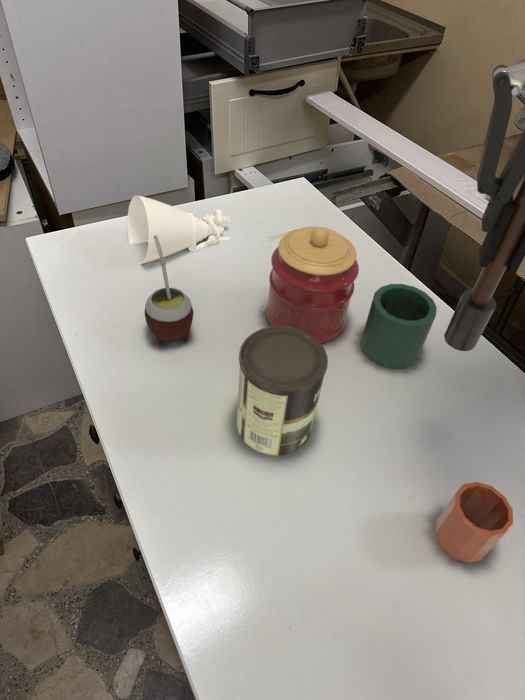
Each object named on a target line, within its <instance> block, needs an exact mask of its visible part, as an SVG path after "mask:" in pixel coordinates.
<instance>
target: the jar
mask: <svg viewBox="0 0 525 700" xmlns="http://www.w3.org/2000/svg"><path fill="white" fill-rule="evenodd" d="M369 307H370V308H369V311H368V315H367V318H366V321H365V324H364V328H363V332H362V336H361V338H360V343H359V344H360V347H361V351H362V353H363V354H364V355H365V356H366V358H367V359H368V360H369V361H370V362H373V363H374V364H376V365H378V366H380V367H383V368H387V369H391V370H397V369H398V370H402V369H406V368H409V367H411V366H413V365H414V364H415V363H416V362H417V361H418V360H419V357H420V355H421V353H422V350H423V348H424V345H425V343H426V340H427V339H428V335H429V334H430V332H431V328H432V326H433V324H434V321H435V319H436V316H437V309H438V308H437V307H438V306H437V305H436V302H435V301H434V299H433V298H432V297H431V296H430V295H428V293H426V292H425V291H424V290H422V289H420V288H418V287H416V286H413V285H408V284H404V283H389V284H386V285H383V286H381V287H379V288H378V289H377V290H376V291H374V294H373V297H372V301H371V303H370V306H369Z"/></svg>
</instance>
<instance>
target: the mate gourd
mask: <svg viewBox="0 0 525 700" xmlns="http://www.w3.org/2000/svg"><path fill="white" fill-rule="evenodd" d="M154 240H155V243H156V246H157V249H158V253H159V257H160V258H159V259H158V260H159V264H160V266H161V271H162V276H163V282H164V286H165V287H161V288H159V289H157V290H155V291H153V293H151V294H150V295H149V296H148V298H147V300H146V303H145V305H144V318H145V322H146V326H147V327H148V329H149V330H150V332H151V334H153V335H154V337H155V339H156V341H157V344H158V346H162V345H163V344H164V343H165V342H174V341H177V340H181V341H185V342H186V341H188V339H189V337H190V334H191V333H190V331H191V328H192V324H193V320H194V308H193V304H192V301H191V299H190V297H189V296H188V295H187V294H185V293H184V292H183V290H181V289H179V288H176V287H170V284H169V279H168V272H167V266H166V264H167V262H166V257H163V253H162V249H161V246H160V243H159V240H158V237H157V236H154Z"/></svg>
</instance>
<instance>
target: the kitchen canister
mask: <svg viewBox="0 0 525 700" xmlns="http://www.w3.org/2000/svg"><path fill="white" fill-rule="evenodd" d="M270 261H271V262H270V263H271V270H270V272H269V277H268V278H269V279H268V280H269V290H268V300H267V302H266V310H265V315H266V316H265V317H266V320H267V322H268V325H269V327H272V326H287V327H293V328H297V329H300V330H302V331H305V332H307V333H308V334H310V335H312V336H313V337H314V338H316V339H317V340H318V341H319V342H320V343H321V344H324V343H328V342H330V341H332V340H334V339H336V338H337V337H338V336H339V335H340V334H341V333H342V332H343V331H344V328H345V326H346V323H347V319H348V310H349V306H350V303H351V299H352V296H353V295H354V292H355V281H356V279H357V278H358V275H359V273H360V268H359V267H360V266H359V263H358V260H357V251H356V248H355V246H354V244H353V243H352V242H351V240H349V239H348V238H346V237H345V236H344V235H342V234H340V233H339V232H337V231H335V230H333V229H330V228H327V227H323V226H314V225H313V226H312V225H311V226H304V227H300V228H296V229H293V230H290V231H289V232H287V233H285V234H284V235H283V236H282V237H281V239H280V240H279V242H278V245H277V247H276V248H275V249H274V251H273V252H272V255H271V258H270Z"/></svg>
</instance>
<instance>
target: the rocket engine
mask: <svg viewBox="0 0 525 700" xmlns="http://www.w3.org/2000/svg"><path fill="white" fill-rule="evenodd" d="M213 213H214V214H213ZM213 213H210V215H209V214H205V215H204V216H203V217H202V219H201V218H199V217H197V216H196V215H194V214H193V213H192V212H189V211H188V212H187V211H184V210H182V209H179V207H175V206H173V205H170V204H168V203H165V202H162V201H159V200H156V199H153V198H150V197H145V196H142V195H134V196H132V198H131V200H130V202H129V205H128V210H127V222H126V223H127V238H128V243H129V245H134V244H140V243H147V250H146V254H145V258H144V260H143V261H142V262H139V264H140V265H142V264H147V263H151V262H154V261H158V260H159V258H160V257H159V253H158V249H157V246H156V243H155V240H154V236H157V237H158V240H159V243H160V246H161V249H162V253H163V257H165V258H166V257H170V256H171V255H174V254H176V253H179V252H182V251H183V250H185V249H187V250H188V251H189V252H191V253H197V252H199V251H200V250H203V249H205V248H206V247H208V246H210V245H216V244H220V243H223V242H228V241H229V240H232V237H231V236H230V235H223V233H224V232H225V228H224V227H223V226H222V225H226V226H227V225H228V224H229V223H230V220H231V218H230V216H229V215H223V211H222V209H216V210H214V211H213ZM221 235H222V236H221ZM206 238H207V240H206V241H204V242H203V240H204V239H206ZM199 242H200V243H199ZM197 243H198V244H197Z"/></svg>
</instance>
